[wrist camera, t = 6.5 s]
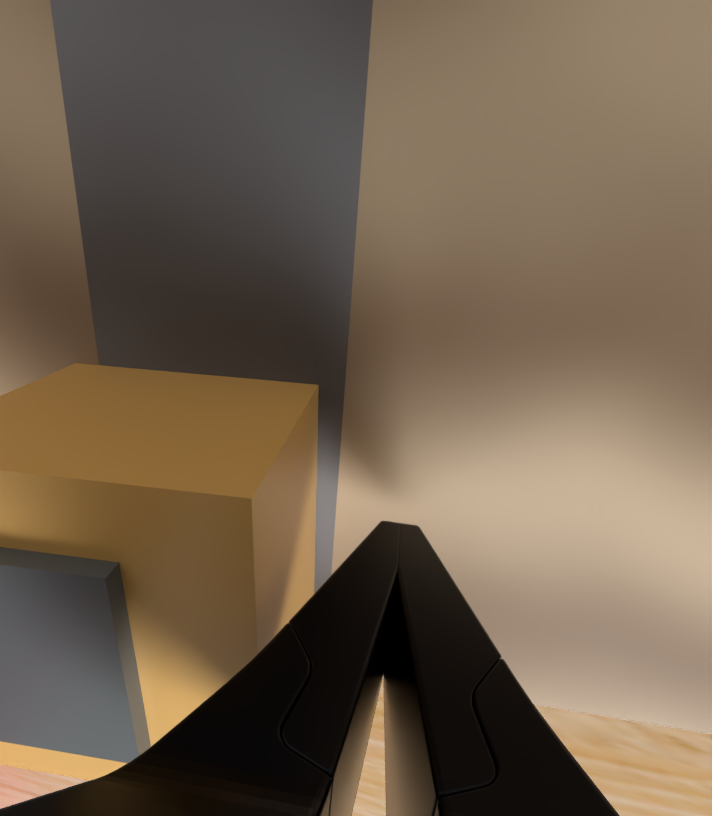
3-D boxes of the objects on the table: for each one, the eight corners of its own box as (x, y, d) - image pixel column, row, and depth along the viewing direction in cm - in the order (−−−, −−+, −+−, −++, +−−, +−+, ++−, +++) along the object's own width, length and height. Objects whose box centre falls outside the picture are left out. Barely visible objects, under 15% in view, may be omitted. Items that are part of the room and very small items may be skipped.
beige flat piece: (891, 727, 12) (931, 771, 11) (54, 592, 14) (28, 620, 13) (1573, -171, 6) (1794, -244, 5) (-113, -195, 8) (-186, -249, 7)
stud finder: (313, 620, 12) (258, 832, 8) (117, 593, 12) (-32, 780, 8) (318, 385, 9) (242, 513, 5) (75, 362, 10) (-162, 466, 6)
